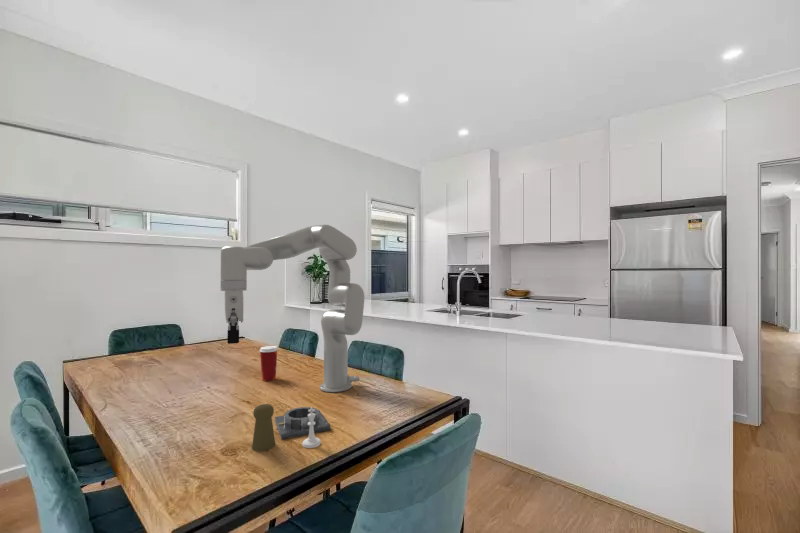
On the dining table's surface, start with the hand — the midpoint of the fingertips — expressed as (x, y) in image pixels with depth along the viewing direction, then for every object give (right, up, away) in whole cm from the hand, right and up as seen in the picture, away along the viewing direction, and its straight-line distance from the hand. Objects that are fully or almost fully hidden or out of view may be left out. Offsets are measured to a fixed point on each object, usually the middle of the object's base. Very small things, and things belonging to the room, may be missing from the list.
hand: (233, 340), depth 119 cm
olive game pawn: (+15, -26, -15) cm, 34 cm away
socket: (+22, -26, -2) cm, 34 cm away
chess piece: (+28, -26, -14) cm, 41 cm away
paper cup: (-5, -27, +48) cm, 55 cm away
